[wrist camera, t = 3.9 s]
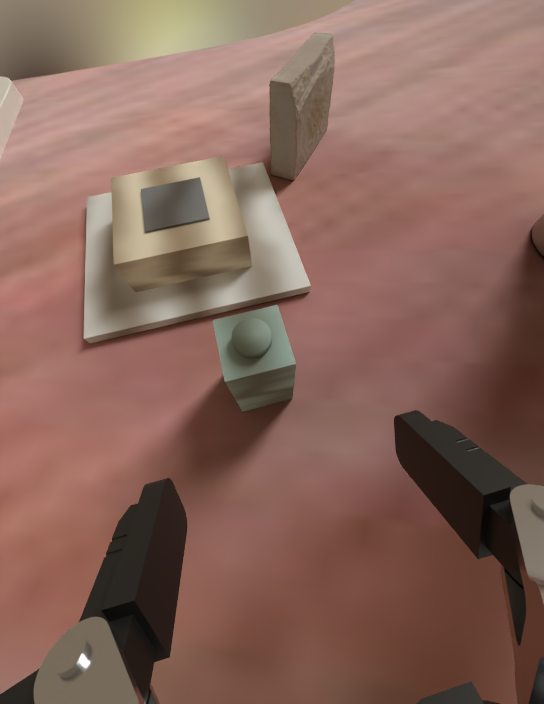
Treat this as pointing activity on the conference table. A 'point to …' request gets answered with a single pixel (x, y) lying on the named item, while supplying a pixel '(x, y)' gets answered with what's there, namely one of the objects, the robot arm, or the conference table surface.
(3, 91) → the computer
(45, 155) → the conference table surface
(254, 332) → the post
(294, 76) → the fossil
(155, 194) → the stand
